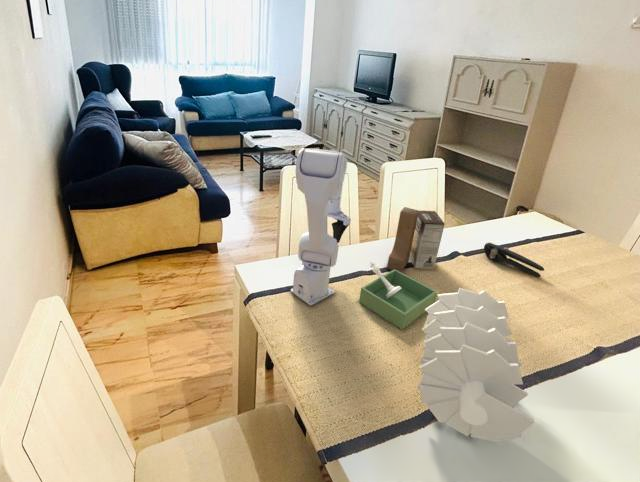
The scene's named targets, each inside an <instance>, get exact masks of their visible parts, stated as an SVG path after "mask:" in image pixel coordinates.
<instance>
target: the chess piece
mask: <svg viewBox="0 0 640 482" xmlns="http://www.w3.org/2000/svg"><path fill="white" fill-rule="evenodd" d="M369 264H370V265H369V267H370V268H373V269H372V272H373V273H374V274H375V275H376V276H377V279H379V278H381V280H382V281H383V283H384V285H385V286H386V288H387V291H388V293H387V294H386V297H387V299H388V298H389V297H391V296H392V295H393V294H395V293H396V292H398V291H399V290H400V289H402V288H401V287H400V286H397V287H394V286H392V285H391V284H390V283H389V282H388V281H387V280H386V279H385V277H384V276H383V275H385V273H384V272H383V273H382V272H381V269H380V267H379V266H375V265H376V262H372V261H371V262H370V263H369Z"/></svg>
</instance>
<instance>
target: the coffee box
mask: <svg viewBox="0 0 640 482" xmlns="http://www.w3.org/2000/svg"><path fill="white" fill-rule="evenodd" d="M418 211H419V212H418V217H417V222H416V227H415V232H414V237H413V242H412V247H411V252H410V257H409V261H410V262H411V264H412V266H413V268H414V269H423V270H425V269H426V270H434V269H435V265H436V262H437V258H438V253H439V249H440V245H441V241H442V237H443V236H442V235H443V233H444V228H445V225H446V223H445V222H444V221H443V220H442V218H441V217H440V216H439V214H438V213H437V212H436V210H418Z"/></svg>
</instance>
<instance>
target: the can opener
mask: <svg viewBox="0 0 640 482" xmlns="http://www.w3.org/2000/svg"><path fill="white" fill-rule="evenodd" d="M483 253H484V255H485V256H486V258H487V259H488V260H490V261H492V262H499V263H500V262H501V263H505V264H508V265H510V266H513V267H514V268H516V269H518V270H519V271H521V272H523V273H524V274H528V275H530V276H532V277H535V278H541V277H542V276H541V273H539V272H538V271H541V272H544V271H545V267H543V266H542V265H541V264H539V263H536V261H533V260H531V259H529V258H527V257H525V256H524V255H521V254H520V253H517V252H515V251H512V250H509V247H503V246H500V245H498V244H495V243H493V242H486V243H485V244H484V245H483ZM526 265H527V266H526ZM528 266H529V267H528ZM530 267H531V268H530ZM532 268H533V269H532ZM534 269H535V270H534ZM536 270H538V271H536Z"/></svg>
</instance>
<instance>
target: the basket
mask: <svg viewBox="0 0 640 482" xmlns="http://www.w3.org/2000/svg"><path fill="white" fill-rule="evenodd" d="M383 276H384V277H385V279H386V280H387V281H388V282H389V283H390V284H391V285H392V286H394V287H397V286H400V287H401V288H402V289H400V290H399V291H398V292H396V293H395V294H393V295H392V296H391V297H389V298H388V299H387V297H386V294H387V293H388V291H387V288H386V286H385V285H384V283H383V281H382V280H381V278H379V279H378V278H376V279H374V280H372V281H371V282H369V283H367V284H366V285H363V286H362V287H360V293H359V300H358V302H359V303H360V304H361V305H362V306H365V307H366V308H368V309H369V310H371V311H373V312H374V313H375V314H377V315H378V316H380V317H382V318H383V319H385V320H386V321H388V323H391V324H392V325H394V326H395V327H397V328H399V329H400V330H404V329H405V328H406V327H408V326H409V325H410V324H411V323H413V322H414V321H415V320H417V319H418V318H419V317H421V316H423V315H424V314H425V313H427V312H426V311H425V309H426V308H427V307H429V306H430V305H432V304H433V303H435V302H436V300H437V297H438V291H437V290H435V289H433V288H432V287H429V286H427V285H426V284H424V283H422V282H420V281H418V280H416V279H414V278H412V277H411V276H409V275H407V274H405V273H403V272H399V271H397V270H395V269H394V270H389V272H387V273H384V275H383Z"/></svg>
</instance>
